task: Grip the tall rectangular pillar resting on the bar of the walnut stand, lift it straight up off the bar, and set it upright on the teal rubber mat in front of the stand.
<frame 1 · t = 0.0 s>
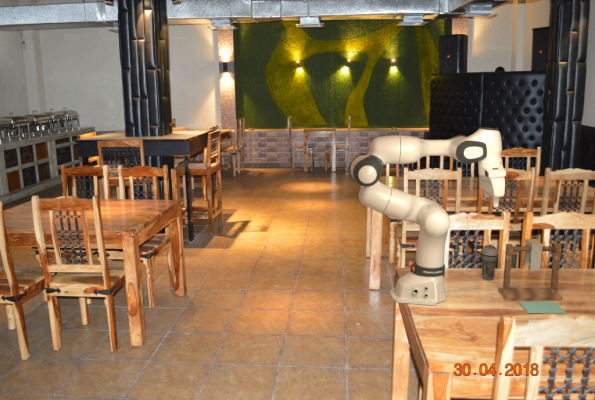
hand: (491, 203, 210), 39 cm above the table, tool pointing down, fingers open, 8 cm apart
tall rectangular pillar: (531, 267, 216), point 12 cm above the table, touching stand
beverage cup: (487, 279, 238), on the table
stand: (529, 295, 219), on the table
mat: (541, 308, 206), on the table
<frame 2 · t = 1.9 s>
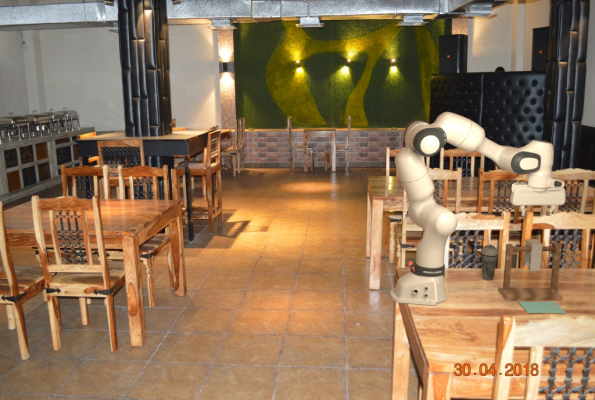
hand: (536, 215, 211), 34 cm above the table, tool pointing down, fingers open, 8 cm apart
nothing on the table moved.
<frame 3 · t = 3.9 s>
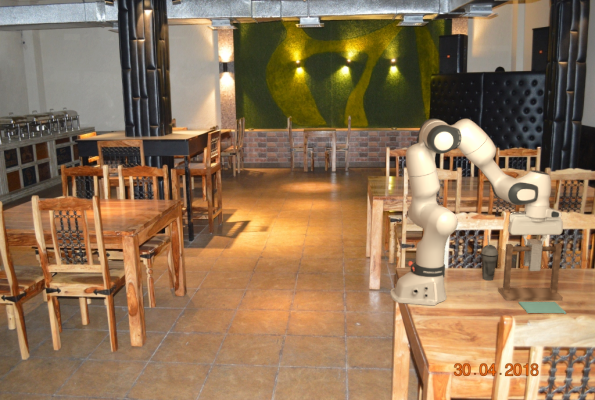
hand: (533, 245, 214), 22 cm above the table, tool pointing down, fingers closed on tall rectangular pillar, 4 cm apart
tall rectangular pillar: (531, 267, 216), point 12 cm above the table, touching gripper, stand
everything else where it was.
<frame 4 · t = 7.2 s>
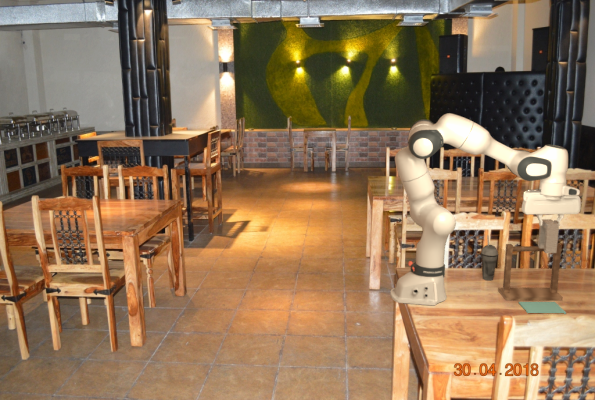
hand: (549, 225, 199), 33 cm above the table, tool pointing down, fingers closed on tall rectangular pillar, 4 cm apart
tall rectangular pillar: (547, 250, 201), point 24 cm above the table, touching gripper
everything else where it was.
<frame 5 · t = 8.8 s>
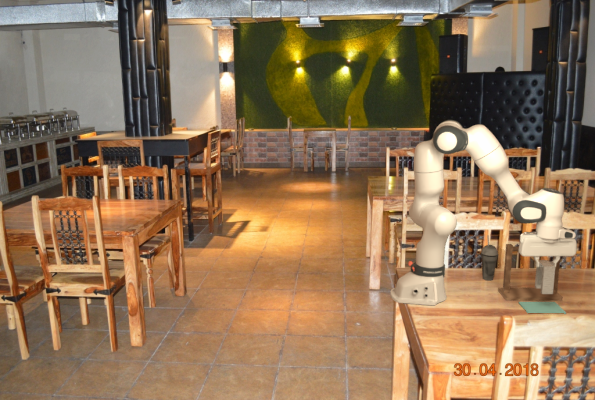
hand: (545, 266, 203), 17 cm above the table, tool pointing down, fingers closed on tall rectangular pillar, 4 cm apart
tall rectangular pillar: (543, 290, 205), point 7 cm above the table, touching gripper
everything else where it was.
when the fingers open (12 cm above the table, at t = 10.3 s): tall rectangular pillar drops 1 cm, resting on mat.
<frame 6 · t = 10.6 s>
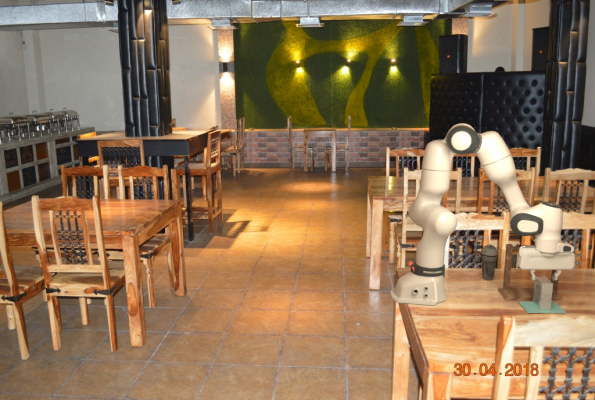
hand: (544, 279, 204), 12 cm above the table, tool pointing down, fingers open, 6 cm apart
tall rectangular pillar: (541, 306, 206), point 1 cm above the table, touching mat
everything else where it was.
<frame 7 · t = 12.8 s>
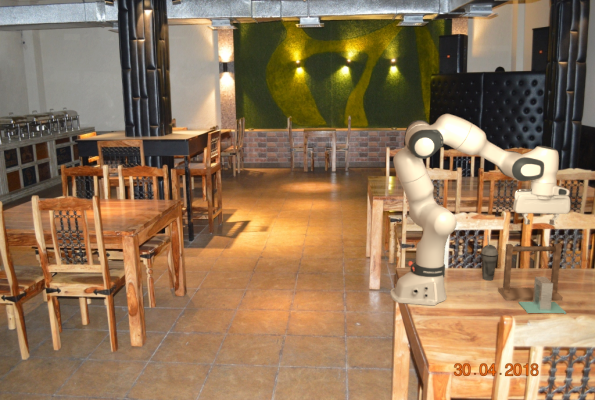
hand: (539, 224, 205), 32 cm above the table, tool pointing down, fingers open, 8 cm apart
nothing on the table moved.
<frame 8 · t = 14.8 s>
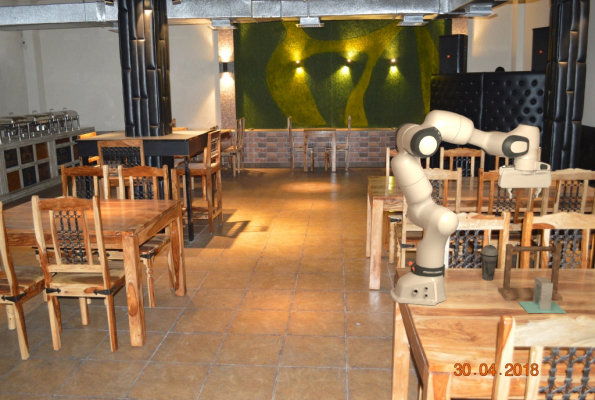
hand: (523, 198, 217), 39 cm above the table, tool pointing down, fingers open, 8 cm apart
nothing on the table moved.
at the end: tall rectangular pillar inside the target area on the mat (0.1 cm from its centre), point 0.6 cm above the mat's base; tall rectangular pillar tilted 0°; tall rectangular pillar touching mat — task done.
